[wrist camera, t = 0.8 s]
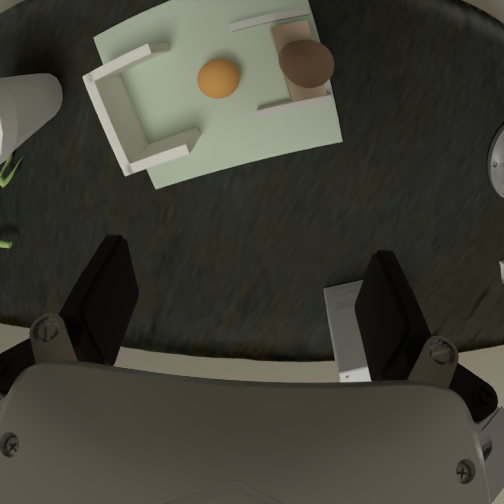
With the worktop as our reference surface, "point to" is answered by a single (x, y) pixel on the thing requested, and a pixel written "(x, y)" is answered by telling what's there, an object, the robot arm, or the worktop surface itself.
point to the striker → (302, 60)
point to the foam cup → (26, 108)
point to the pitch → (193, 99)
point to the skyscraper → (502, 270)
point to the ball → (218, 78)
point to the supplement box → (346, 332)
